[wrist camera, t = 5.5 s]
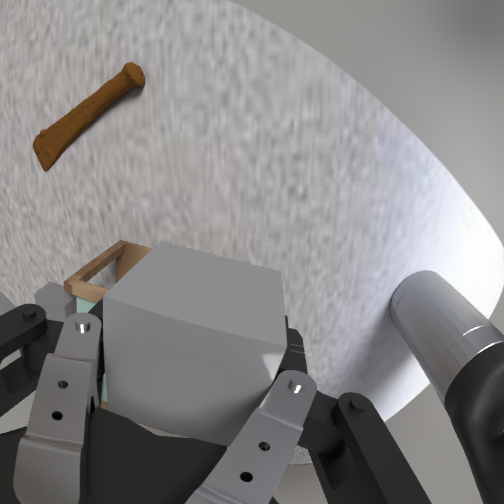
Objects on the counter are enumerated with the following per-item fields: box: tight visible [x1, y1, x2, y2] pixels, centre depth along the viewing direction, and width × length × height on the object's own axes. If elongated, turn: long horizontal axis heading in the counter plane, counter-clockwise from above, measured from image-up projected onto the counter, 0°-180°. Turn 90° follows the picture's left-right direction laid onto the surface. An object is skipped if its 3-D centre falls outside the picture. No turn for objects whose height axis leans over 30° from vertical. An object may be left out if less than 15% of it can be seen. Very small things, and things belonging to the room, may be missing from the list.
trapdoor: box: [35, 282, 108, 402], centre depth 28 cm, size 15×14×3 cm
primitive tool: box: [33, 62, 145, 171], centre depth 30 cm, size 19×6×4 cm, turn 119°
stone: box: [103, 241, 287, 447], centre depth 11 cm, size 5×5×5 cm
